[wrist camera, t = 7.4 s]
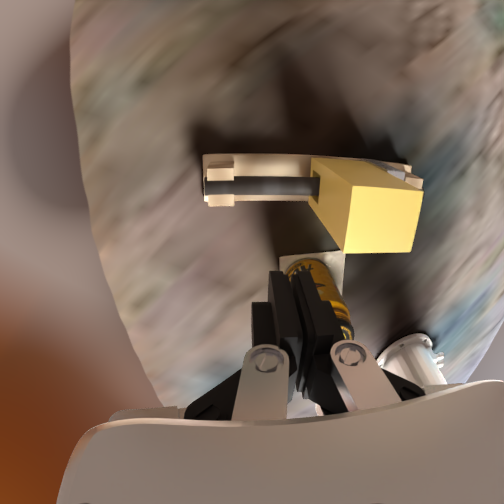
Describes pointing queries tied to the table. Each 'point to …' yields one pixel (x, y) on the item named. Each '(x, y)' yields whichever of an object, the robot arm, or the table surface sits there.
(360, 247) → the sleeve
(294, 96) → the table surface
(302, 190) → the cord rig
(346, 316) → the condiment
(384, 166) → the grey slab
